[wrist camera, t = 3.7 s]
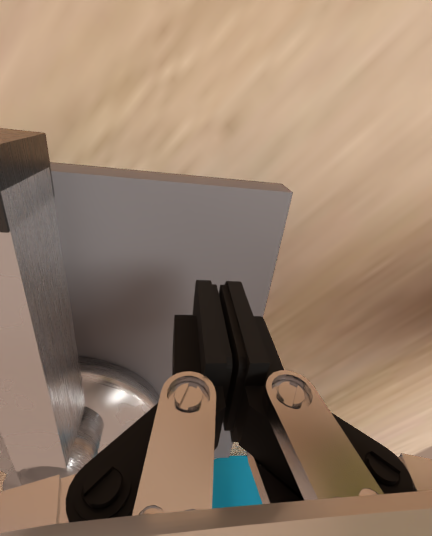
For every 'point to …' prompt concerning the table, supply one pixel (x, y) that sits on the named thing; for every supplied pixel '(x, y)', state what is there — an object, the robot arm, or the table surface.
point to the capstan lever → (48, 337)
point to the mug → (233, 483)
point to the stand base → (159, 256)
